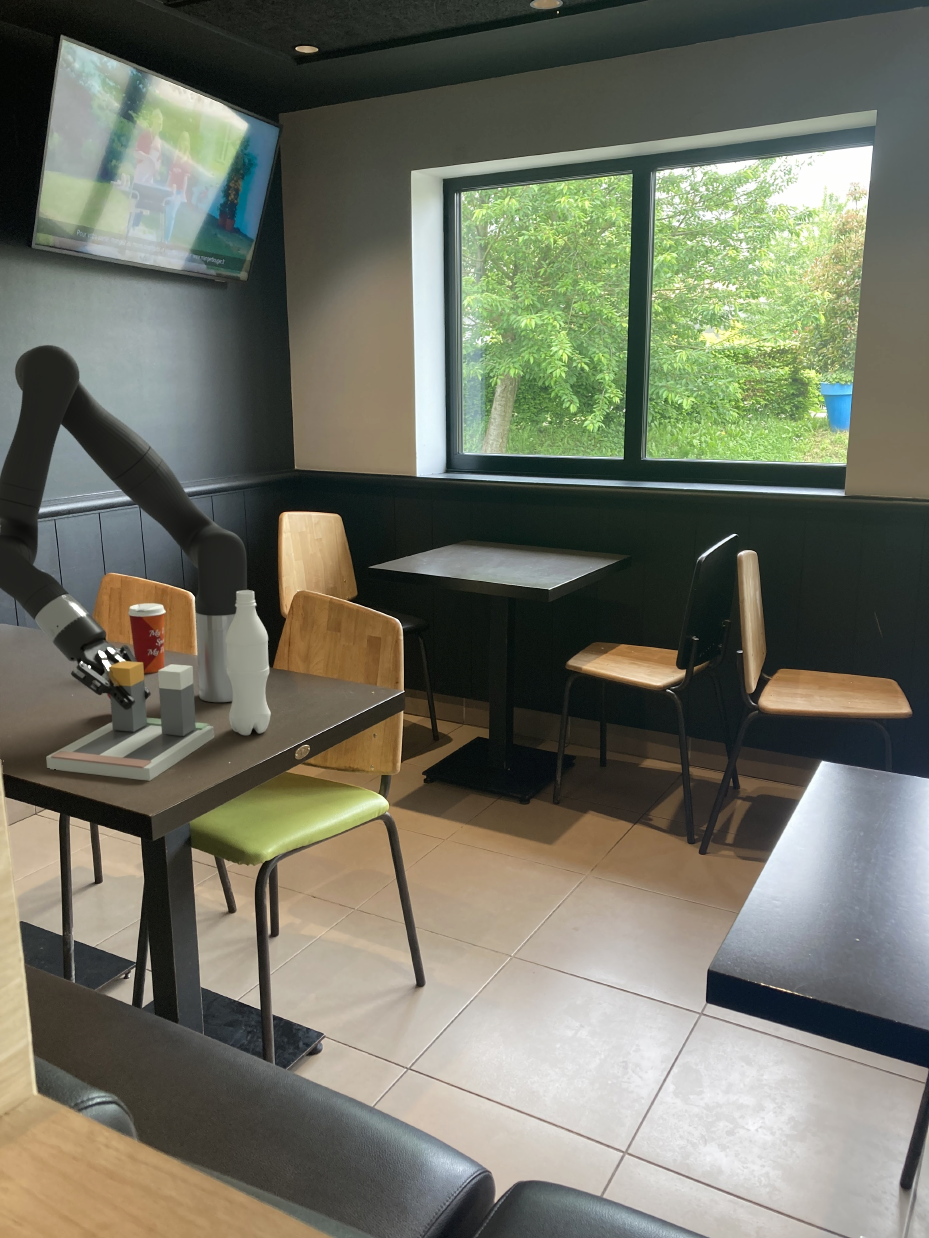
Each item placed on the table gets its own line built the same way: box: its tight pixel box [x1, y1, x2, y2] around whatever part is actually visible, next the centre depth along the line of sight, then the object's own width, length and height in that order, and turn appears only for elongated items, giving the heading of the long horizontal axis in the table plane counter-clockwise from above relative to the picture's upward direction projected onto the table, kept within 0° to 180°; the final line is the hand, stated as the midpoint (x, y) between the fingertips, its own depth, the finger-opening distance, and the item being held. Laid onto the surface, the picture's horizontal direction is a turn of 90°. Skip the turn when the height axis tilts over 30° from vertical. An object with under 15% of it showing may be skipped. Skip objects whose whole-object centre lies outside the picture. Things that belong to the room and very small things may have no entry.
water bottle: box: [226, 589, 272, 736], centre depth 162 cm, size 7×7×25 cm
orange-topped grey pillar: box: [109, 661, 148, 732], centre depth 158 cm, size 4×4×11 cm
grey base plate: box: [46, 663, 215, 782], centre depth 152 cm, size 20×18×13 cm
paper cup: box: [127, 602, 167, 674], centre depth 200 cm, size 8×8×14 cm
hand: (138, 701), depth 157 cm, fingers closed on orange-topped grey pillar, 4 cm apart
